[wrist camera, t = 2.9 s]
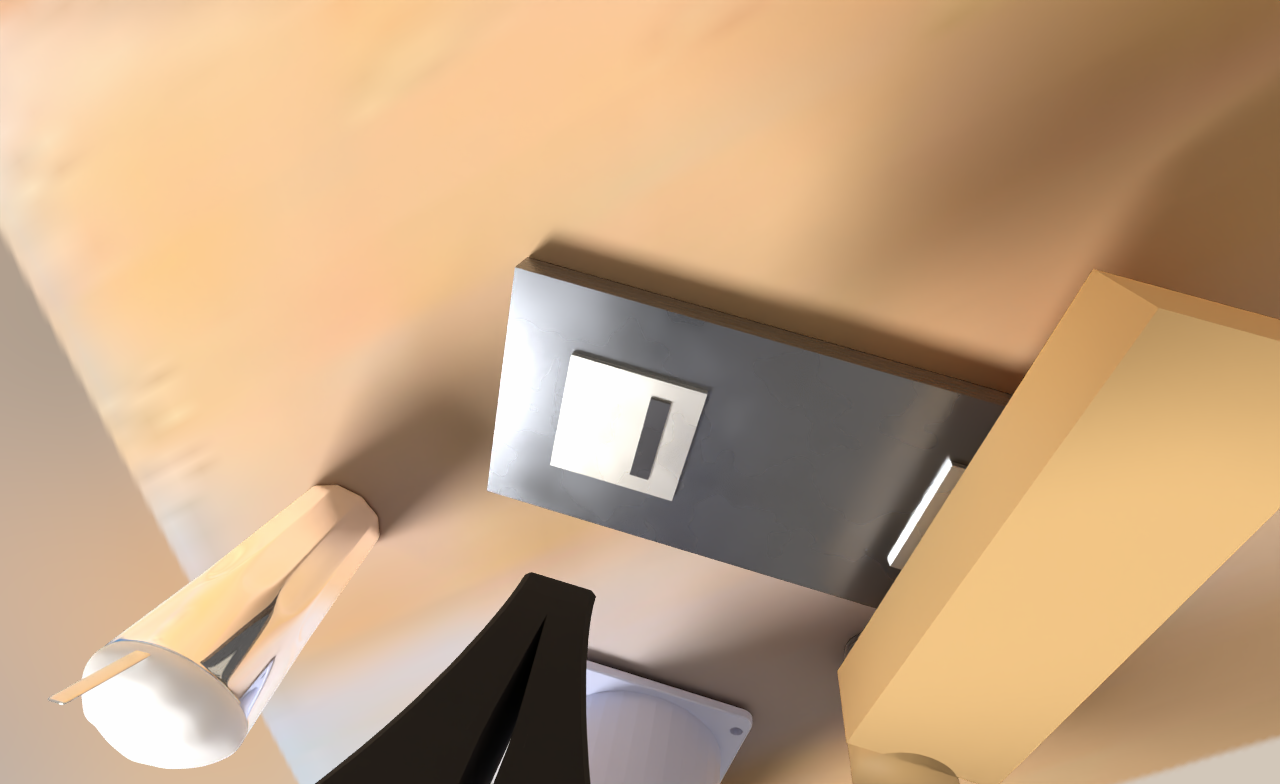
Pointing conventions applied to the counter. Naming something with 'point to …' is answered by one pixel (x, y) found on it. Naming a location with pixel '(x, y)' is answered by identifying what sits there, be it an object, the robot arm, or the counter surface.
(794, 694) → the counter surface
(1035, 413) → the light wooden plank
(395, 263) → the counter surface
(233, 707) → the milkshake
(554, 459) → the panel
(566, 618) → the robot arm
